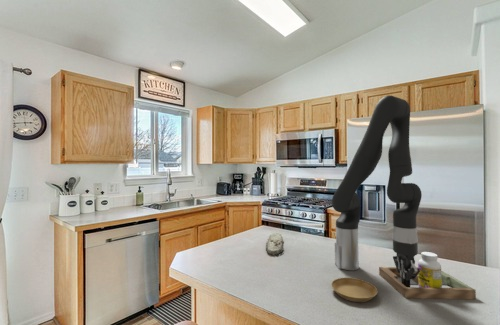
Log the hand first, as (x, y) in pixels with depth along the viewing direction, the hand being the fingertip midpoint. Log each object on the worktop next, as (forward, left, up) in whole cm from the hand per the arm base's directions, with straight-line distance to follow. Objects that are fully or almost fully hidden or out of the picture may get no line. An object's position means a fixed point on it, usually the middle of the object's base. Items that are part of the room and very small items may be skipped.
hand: (406, 288), depth 88 cm
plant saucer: (-19, -3, -1) cm, 19 cm away
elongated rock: (-43, +51, -1) cm, 67 cm away
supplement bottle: (+8, 0, -1) cm, 8 cm away
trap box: (+8, +4, -1) cm, 9 cm away
